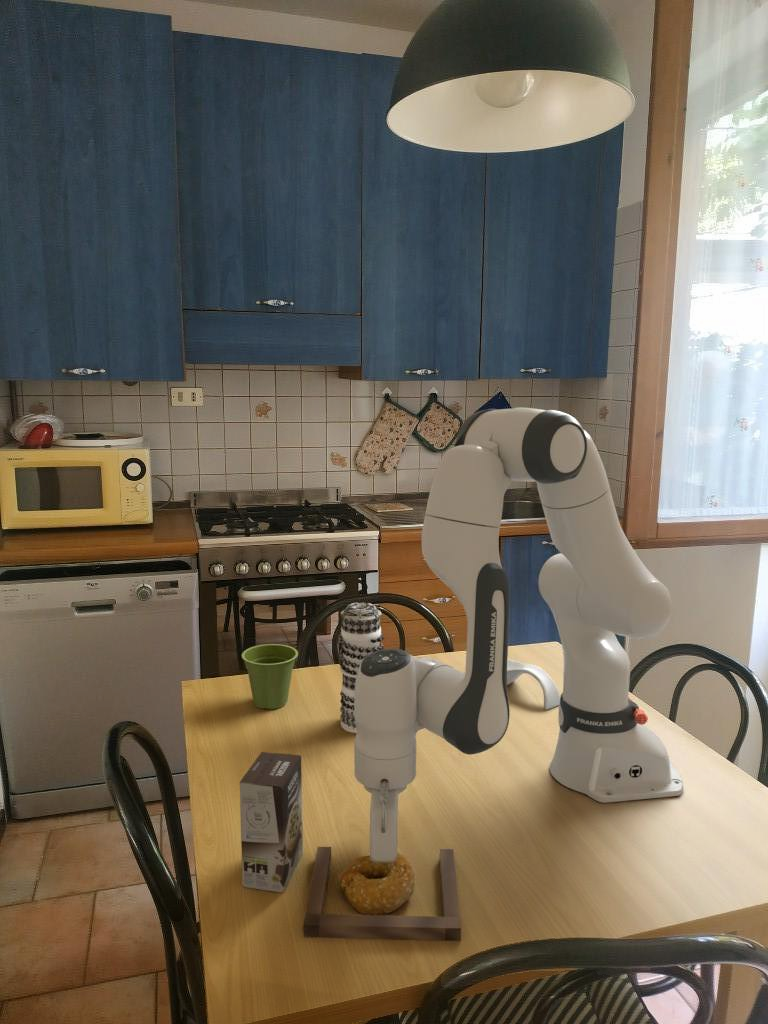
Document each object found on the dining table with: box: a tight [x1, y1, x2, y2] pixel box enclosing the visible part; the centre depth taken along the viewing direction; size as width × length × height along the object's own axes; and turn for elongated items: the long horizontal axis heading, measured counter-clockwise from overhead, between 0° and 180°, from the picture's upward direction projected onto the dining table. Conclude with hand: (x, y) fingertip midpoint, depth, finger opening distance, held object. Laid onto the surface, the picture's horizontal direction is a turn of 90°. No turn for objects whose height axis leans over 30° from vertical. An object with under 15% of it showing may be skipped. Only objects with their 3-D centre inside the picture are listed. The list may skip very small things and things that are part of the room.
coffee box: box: [239, 751, 304, 894], centre depth 109 cm, size 9×6×16 cm
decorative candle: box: [337, 601, 385, 734], centre depth 153 cm, size 9×9×25 cm
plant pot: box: [241, 643, 299, 710], centre depth 163 cm, size 12×12×11 cm
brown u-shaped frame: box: [302, 846, 462, 941], centre depth 105 cm, size 20×16×2 cm
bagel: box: [337, 852, 416, 915], centre depth 105 cm, size 10×11×5 cm
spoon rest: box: [507, 658, 561, 710], centre depth 171 cm, size 24×12×7 cm, turn 38°
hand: (385, 850), depth 111 cm, fingers closed
